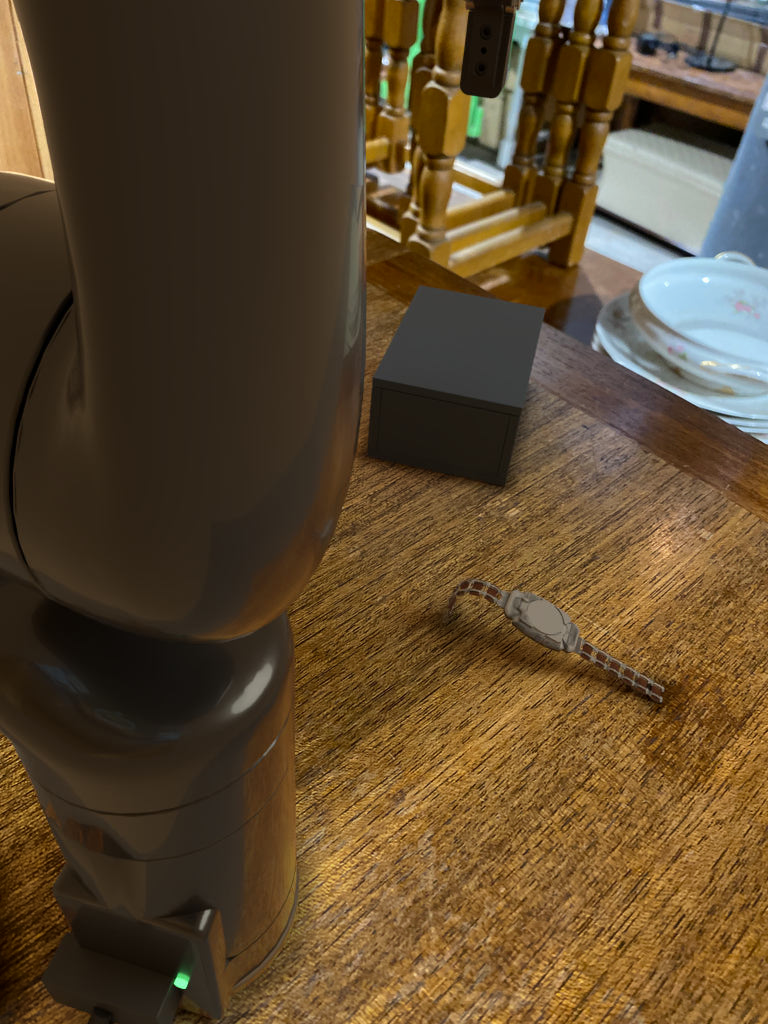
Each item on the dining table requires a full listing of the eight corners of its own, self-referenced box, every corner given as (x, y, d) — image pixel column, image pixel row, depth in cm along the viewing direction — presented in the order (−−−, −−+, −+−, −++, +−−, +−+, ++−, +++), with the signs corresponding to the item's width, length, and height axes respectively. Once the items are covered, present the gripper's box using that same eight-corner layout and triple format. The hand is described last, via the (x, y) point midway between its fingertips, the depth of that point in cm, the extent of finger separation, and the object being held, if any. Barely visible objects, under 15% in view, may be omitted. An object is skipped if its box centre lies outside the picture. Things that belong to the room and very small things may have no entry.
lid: (418, 293, 72) (419, 284, 71) (543, 316, 70) (545, 308, 70) (371, 386, 60) (372, 377, 59) (520, 416, 58) (522, 407, 58)
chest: (409, 363, 76) (416, 299, 71) (527, 387, 74) (542, 322, 70) (366, 456, 65) (371, 386, 60) (504, 486, 63) (520, 417, 58)
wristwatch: (445, 595, 53) (475, 553, 50) (629, 705, 53) (673, 670, 49) (427, 633, 51) (458, 590, 47) (620, 748, 50) (666, 714, 47)
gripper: (482, -376, 35) (437, 58, 47) (417, -458, 26) (381, 115, 37) (650, -366, 34) (562, 76, 46) (649, -447, 24) (538, 139, 36)
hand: (481, 93), depth 41 cm, fingers closed
